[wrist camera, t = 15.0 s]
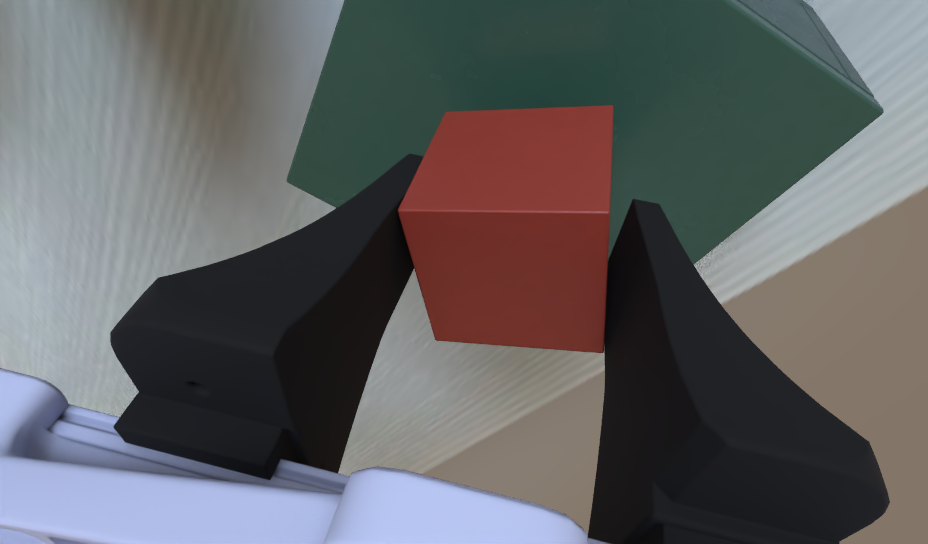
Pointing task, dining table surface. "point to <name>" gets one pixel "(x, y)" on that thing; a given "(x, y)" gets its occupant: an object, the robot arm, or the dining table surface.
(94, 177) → the dining table surface
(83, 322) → the dining table surface
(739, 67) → the bin lid
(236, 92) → the dining table surface
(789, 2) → the bin
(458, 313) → the block
